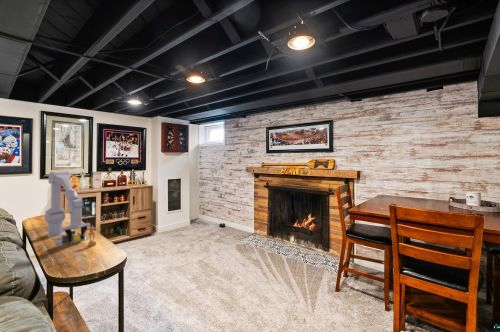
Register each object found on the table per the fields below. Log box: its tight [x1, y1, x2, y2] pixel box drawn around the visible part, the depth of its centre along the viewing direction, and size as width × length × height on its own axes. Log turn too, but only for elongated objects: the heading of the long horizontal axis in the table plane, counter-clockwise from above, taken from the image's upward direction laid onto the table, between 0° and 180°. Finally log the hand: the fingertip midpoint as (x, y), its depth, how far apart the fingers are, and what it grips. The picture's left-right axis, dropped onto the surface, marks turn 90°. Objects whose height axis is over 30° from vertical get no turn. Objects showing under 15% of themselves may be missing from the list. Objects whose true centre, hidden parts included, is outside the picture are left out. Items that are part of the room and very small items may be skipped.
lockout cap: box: [72, 233, 81, 243], centre depth 147 cm, size 4×4×4 cm
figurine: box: [83, 225, 101, 247], centre depth 141 cm, size 8×6×12 cm
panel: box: [52, 231, 90, 247], centre depth 150 cm, size 18×15×3 cm
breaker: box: [60, 233, 69, 242], centre depth 146 cm, size 3×4×4 cm
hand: (76, 240), depth 147 cm, fingers open, 5 cm apart
